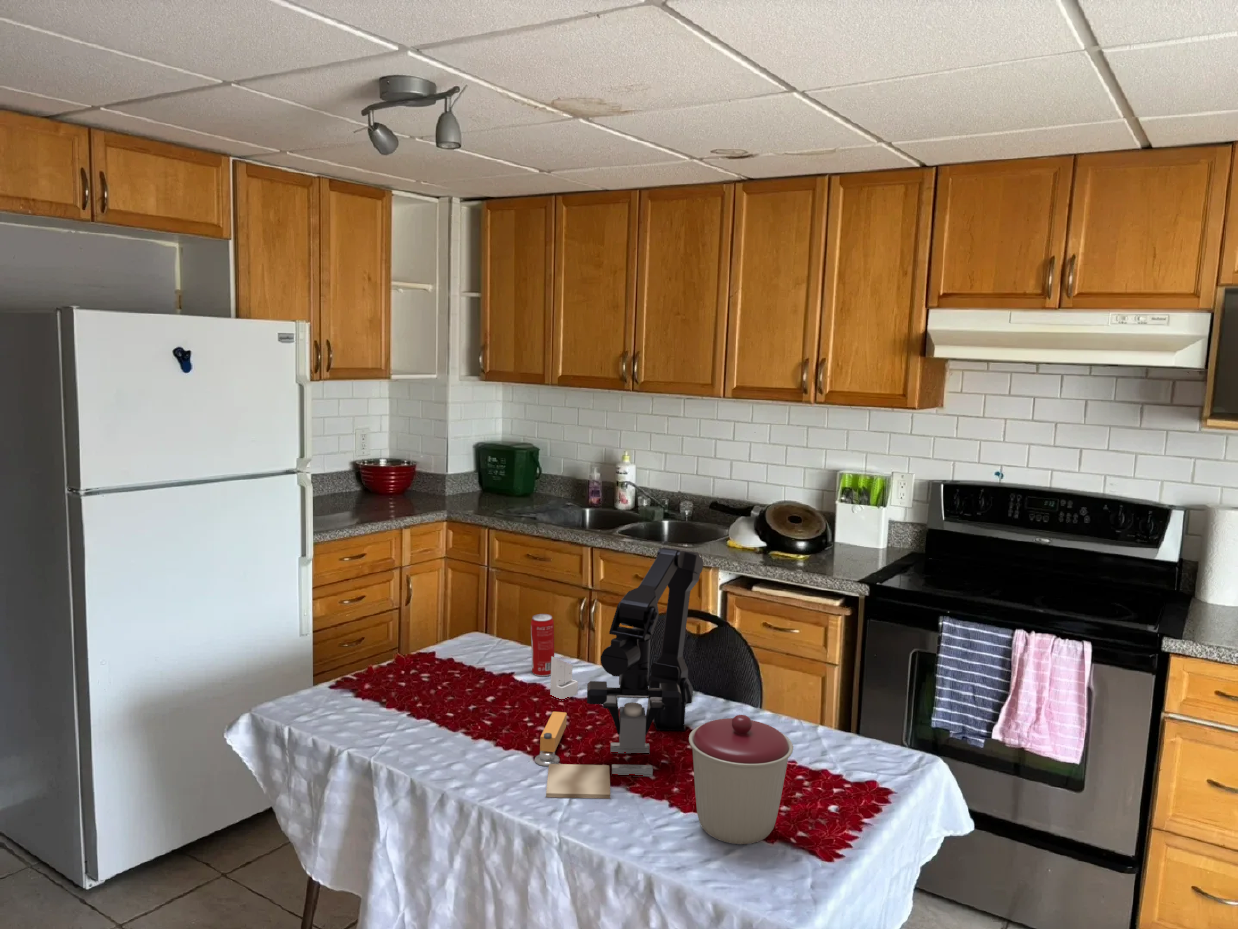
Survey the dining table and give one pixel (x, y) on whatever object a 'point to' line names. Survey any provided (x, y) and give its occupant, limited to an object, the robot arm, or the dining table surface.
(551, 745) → the latch
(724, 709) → the dining table surface
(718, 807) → the canister
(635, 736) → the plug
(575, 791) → the board
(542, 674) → the beverage can
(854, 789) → the dining table surface
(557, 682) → the white angled block
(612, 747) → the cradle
